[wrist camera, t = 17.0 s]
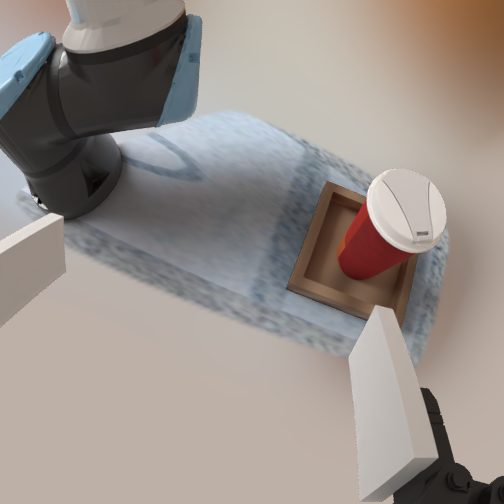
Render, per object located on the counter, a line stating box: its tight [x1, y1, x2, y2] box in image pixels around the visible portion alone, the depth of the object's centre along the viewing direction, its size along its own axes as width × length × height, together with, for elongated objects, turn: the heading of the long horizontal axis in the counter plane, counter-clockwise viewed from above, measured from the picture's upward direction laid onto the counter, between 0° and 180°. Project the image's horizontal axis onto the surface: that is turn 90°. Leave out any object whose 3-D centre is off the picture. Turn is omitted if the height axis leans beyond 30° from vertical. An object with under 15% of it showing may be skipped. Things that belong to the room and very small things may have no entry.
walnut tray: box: [286, 181, 418, 327], centre depth 38 cm, size 14×14×3 cm
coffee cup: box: [337, 168, 446, 280], centre depth 32 cm, size 8×8×15 cm
